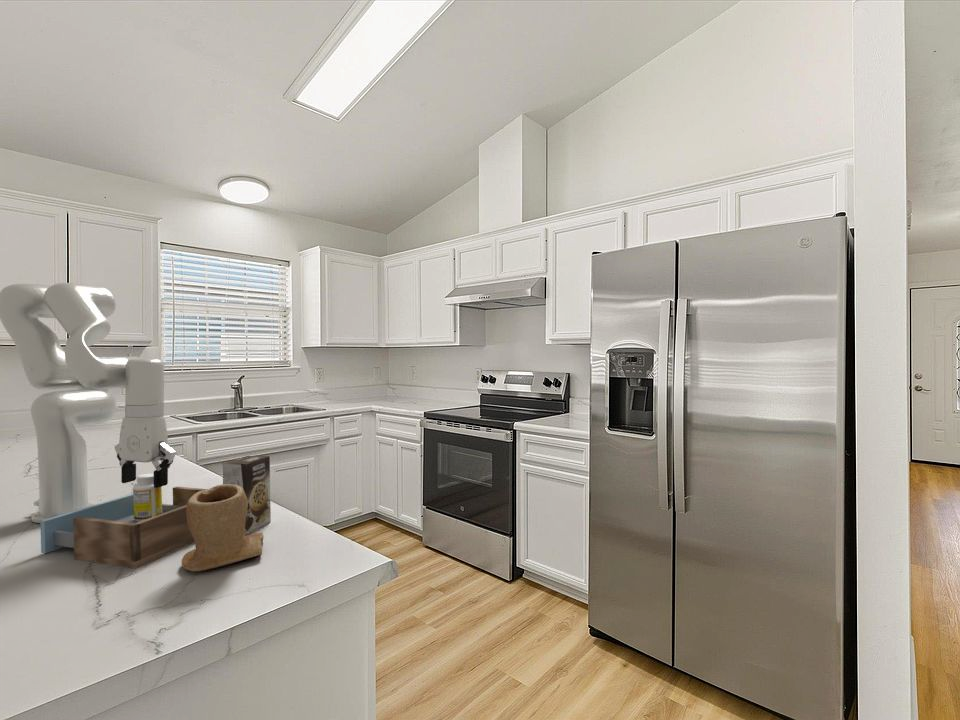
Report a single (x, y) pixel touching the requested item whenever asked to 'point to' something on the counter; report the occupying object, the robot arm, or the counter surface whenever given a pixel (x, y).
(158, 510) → the supplement bottle
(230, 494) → the stone cup
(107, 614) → the counter surface
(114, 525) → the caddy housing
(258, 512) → the coffee box
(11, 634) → the counter surface
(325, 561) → the counter surface
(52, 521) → the tray
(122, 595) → the counter surface
